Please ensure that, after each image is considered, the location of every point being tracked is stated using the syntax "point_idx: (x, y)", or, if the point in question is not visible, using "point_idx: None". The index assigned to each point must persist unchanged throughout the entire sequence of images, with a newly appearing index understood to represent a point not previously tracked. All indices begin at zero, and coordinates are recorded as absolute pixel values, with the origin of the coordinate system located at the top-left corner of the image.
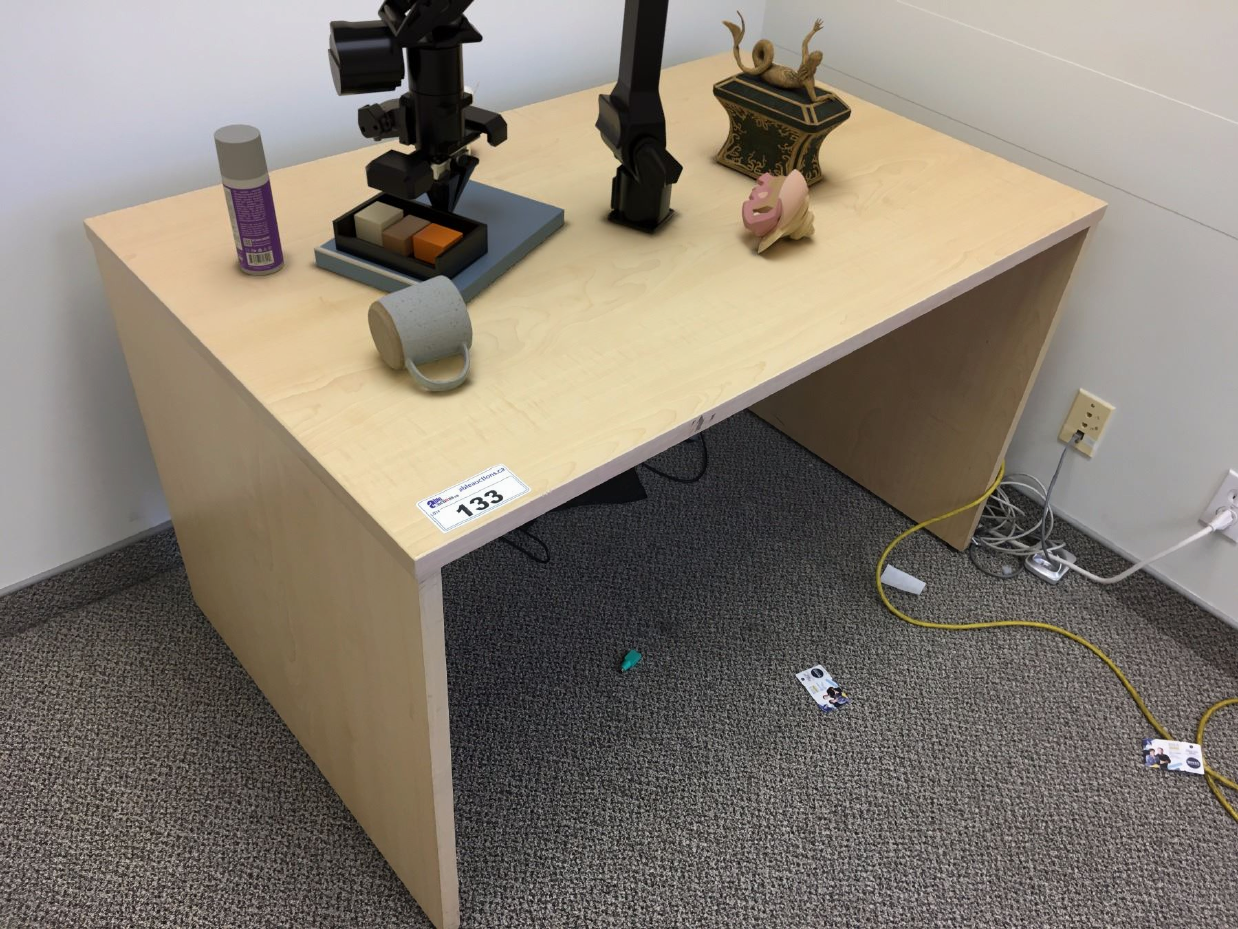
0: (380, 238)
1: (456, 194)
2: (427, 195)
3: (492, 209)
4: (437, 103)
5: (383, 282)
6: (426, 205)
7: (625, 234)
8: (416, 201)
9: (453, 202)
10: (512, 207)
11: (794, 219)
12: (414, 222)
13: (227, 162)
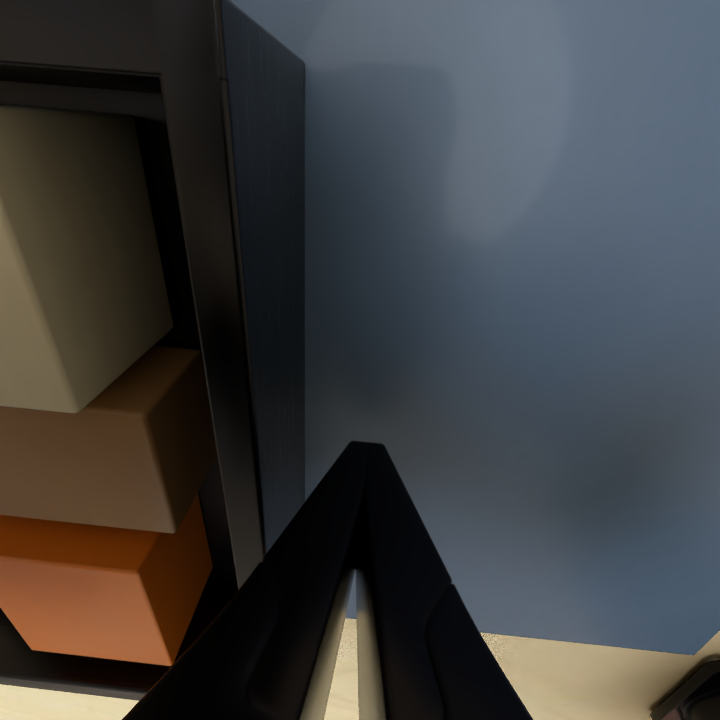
0: None
1: (359, 700)
2: (251, 573)
3: (633, 507)
4: None
5: None
6: (242, 512)
7: (635, 683)
8: (240, 444)
9: (357, 618)
10: (671, 553)
11: None
12: (93, 481)
13: None
